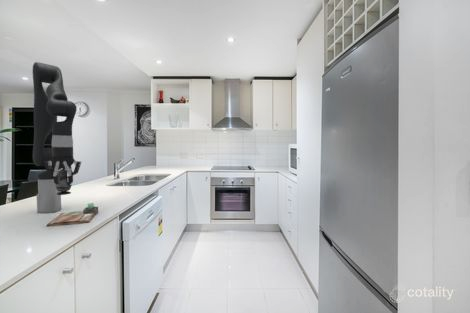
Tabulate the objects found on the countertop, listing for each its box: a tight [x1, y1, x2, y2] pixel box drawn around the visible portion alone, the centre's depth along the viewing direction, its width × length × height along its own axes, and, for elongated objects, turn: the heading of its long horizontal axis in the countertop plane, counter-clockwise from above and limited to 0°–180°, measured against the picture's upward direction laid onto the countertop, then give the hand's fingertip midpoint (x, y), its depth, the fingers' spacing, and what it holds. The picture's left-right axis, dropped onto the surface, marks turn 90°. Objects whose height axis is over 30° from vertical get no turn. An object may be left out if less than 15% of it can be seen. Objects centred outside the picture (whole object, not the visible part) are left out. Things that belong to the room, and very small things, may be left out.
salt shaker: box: [55, 168, 72, 196], centre depth 103 cm, size 6×6×12 cm
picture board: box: [46, 206, 99, 227], centre depth 111 cm, size 16×18×3 cm
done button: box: [87, 203, 95, 209], centre depth 117 cm, size 3×3×3 cm
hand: (63, 184), depth 103 cm, fingers closed on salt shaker, 4 cm apart
